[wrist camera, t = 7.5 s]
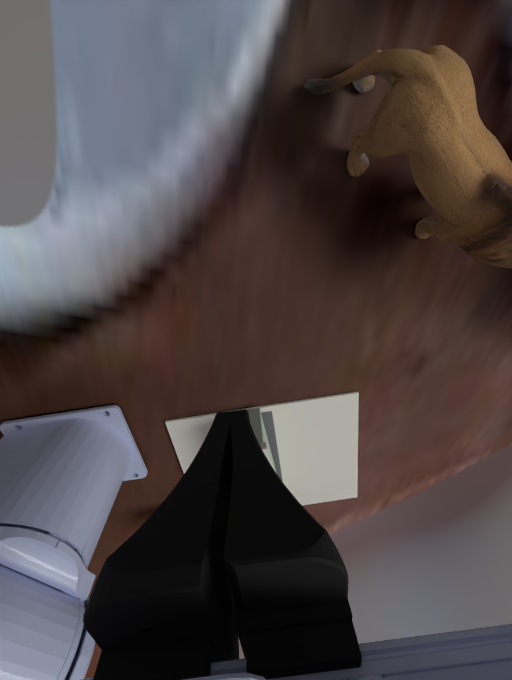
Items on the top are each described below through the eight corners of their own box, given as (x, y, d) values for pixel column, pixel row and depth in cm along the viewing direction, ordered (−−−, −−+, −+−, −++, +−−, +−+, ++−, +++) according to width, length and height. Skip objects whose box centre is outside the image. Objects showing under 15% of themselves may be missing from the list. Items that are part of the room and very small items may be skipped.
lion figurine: (519, 195, 18) (741, 193, 10) (456, 270, 20) (603, 318, 12) (330, 31, 15) (448, -177, 6) (275, 142, 16) (312, 88, 8)
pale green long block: (285, 499, 29) (293, 546, 25) (269, 502, 29) (274, 550, 25) (261, 407, 24) (266, 448, 20) (242, 411, 24) (243, 453, 20)
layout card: (200, 518, 30) (200, 520, 30) (165, 420, 24) (164, 422, 24) (356, 495, 30) (357, 497, 30) (357, 391, 24) (358, 392, 24)
